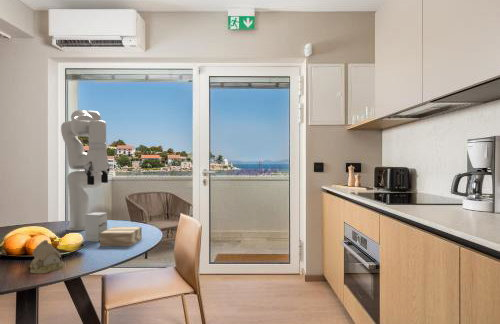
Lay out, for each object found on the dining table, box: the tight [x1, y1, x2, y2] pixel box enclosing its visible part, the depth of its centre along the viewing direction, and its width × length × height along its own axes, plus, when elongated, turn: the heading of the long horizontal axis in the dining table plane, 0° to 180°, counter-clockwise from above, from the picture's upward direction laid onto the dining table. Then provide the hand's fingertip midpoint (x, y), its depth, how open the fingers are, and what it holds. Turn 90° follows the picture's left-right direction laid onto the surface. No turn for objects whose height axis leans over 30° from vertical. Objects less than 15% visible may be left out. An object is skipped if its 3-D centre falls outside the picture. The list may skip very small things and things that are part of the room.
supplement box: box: [84, 211, 108, 243], centre depth 169 cm, size 7×7×13 cm
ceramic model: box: [29, 239, 65, 274], centre depth 128 cm, size 14×11×10 cm
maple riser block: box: [99, 226, 143, 247], centre depth 165 cm, size 14×14×6 cm
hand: (97, 183), depth 165 cm, fingers open, 9 cm apart
